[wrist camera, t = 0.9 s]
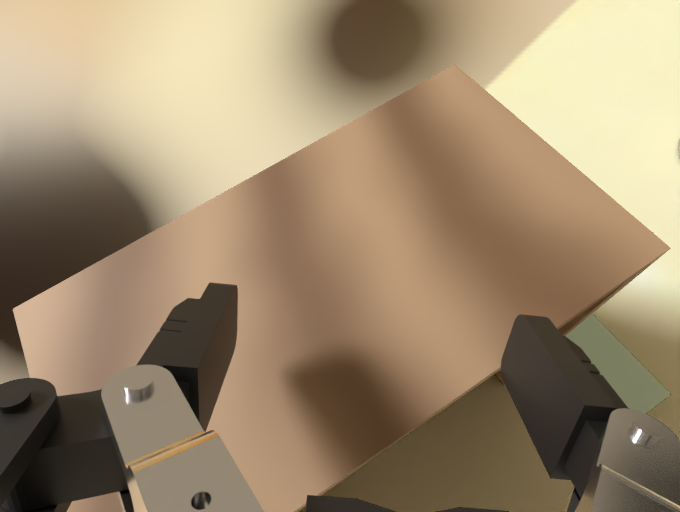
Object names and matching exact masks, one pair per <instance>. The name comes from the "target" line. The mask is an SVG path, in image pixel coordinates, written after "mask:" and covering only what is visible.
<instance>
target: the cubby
mask: <svg viewBox="0 0 680 512" xmlns="http://www.w3.org/2000/svg"><path fill="white" fill-rule="evenodd" d="M669 249H670V247H669V246H668V245H666V244H665V243H664V242H663V241H662V240H661V239H659V238H658V237H657V236H656V235H655V234H653V233H652V232H651V231H650V230H649V229H648V228H646V227H645V226H644V225H643V224H642V223H641V222H639V221H638V220H637V219H636V218H635V217H634V216H632V215H631V214H630V213H629V212H628V211H626V210H625V209H624V208H623V207H622V206H621V205H619V204H618V203H617V202H616V201H615V200H614V199H612V198H611V197H610V196H609V195H608V194H606V193H605V192H604V191H603V190H602V189H601V188H599V187H598V186H597V185H596V184H595V183H594V182H592V181H591V180H590V179H589V178H588V177H587V176H585V175H584V174H583V173H582V172H581V171H579V170H578V169H577V168H576V167H575V166H574V165H572V164H571V163H570V162H569V161H568V160H567V159H565V158H564V157H563V156H562V155H561V154H559V153H558V152H557V151H556V150H555V149H554V148H552V147H551V146H550V145H549V144H548V143H547V142H545V141H544V140H543V139H542V138H541V137H540V136H538V135H537V134H536V133H535V132H534V131H532V130H531V129H530V128H529V127H528V126H527V125H525V124H524V123H523V122H522V121H521V120H520V119H518V118H517V117H516V116H515V115H514V114H512V113H511V112H510V111H509V110H508V109H507V108H505V107H504V106H503V105H502V104H501V103H500V102H498V101H497V100H496V99H495V98H494V97H493V96H491V95H490V94H489V93H488V92H487V91H485V90H484V89H483V88H482V87H481V86H480V85H478V84H477V83H476V82H475V81H474V80H473V79H471V78H470V77H469V76H468V75H467V74H466V73H464V72H463V71H462V70H461V69H459V68H458V67H457V66H456V65H453V66H451V67H450V68H448V69H446V70H444V71H443V72H441V73H439V74H437V75H435V76H433V77H432V78H430V79H428V80H426V81H424V82H423V83H421V84H419V85H417V86H415V87H413V88H412V89H410V90H408V91H406V92H404V93H403V94H401V95H399V96H397V97H395V98H394V99H392V100H390V101H388V102H386V103H385V104H383V105H381V106H379V107H377V108H376V109H374V110H372V111H370V112H369V113H366V114H365V115H363V116H361V117H359V118H357V119H356V120H354V121H352V122H350V123H348V124H347V125H345V126H343V127H341V128H340V129H338V130H336V131H334V132H332V133H330V134H328V135H327V136H325V137H323V138H321V139H319V140H318V141H316V142H314V143H312V144H310V145H309V146H307V147H305V148H303V149H301V150H300V151H298V152H296V153H294V154H292V155H291V156H289V157H287V158H285V159H283V160H282V161H280V162H278V163H276V164H274V165H272V166H271V167H269V168H267V169H265V170H264V171H262V172H260V173H258V174H256V175H254V176H253V177H251V178H249V179H247V180H245V181H243V182H242V183H240V184H238V185H236V186H234V187H233V188H231V189H229V190H227V191H225V192H224V193H222V194H220V195H218V196H216V197H215V198H213V199H211V200H209V201H207V202H206V203H204V204H202V205H200V206H198V207H196V208H195V209H193V210H191V211H189V212H187V213H186V214H184V215H182V216H180V217H178V218H177V219H175V220H173V221H171V222H169V223H168V224H166V225H164V226H162V227H160V228H158V229H157V230H155V231H153V232H151V233H149V234H148V235H146V236H144V237H142V238H140V239H139V240H137V241H135V242H133V243H132V244H130V245H128V246H126V247H125V248H123V249H121V250H119V251H117V252H115V253H113V254H111V255H110V256H108V257H106V258H104V259H103V260H101V261H99V262H97V263H95V264H94V265H92V266H90V267H88V268H86V269H84V270H83V271H81V272H79V273H77V274H75V275H74V276H72V277H70V278H68V279H66V280H65V281H63V282H61V283H59V284H57V285H56V286H54V287H52V288H50V289H48V290H46V291H45V292H43V293H41V294H39V295H37V296H36V297H34V298H32V299H30V300H29V301H26V302H25V303H23V304H21V305H19V306H18V307H16V308H14V309H13V312H14V316H15V319H16V323H17V327H18V331H19V335H20V339H21V343H22V347H23V351H24V355H25V358H26V363H27V367H28V371H29V375H30V378H39V379H44V380H47V381H49V382H50V383H52V384H53V385H54V387H55V389H56V393H57V396H63V395H70V394H78V393H85V392H91V391H97V390H100V389H102V388H103V386H104V385H105V383H106V382H107V381H108V380H109V378H111V377H112V376H113V375H115V374H116V373H118V372H120V371H122V370H124V369H126V368H129V367H133V366H136V365H137V363H138V362H139V360H140V359H141V357H142V356H143V354H144V353H145V351H146V350H147V348H148V346H149V345H150V343H151V342H152V340H153V339H154V337H155V336H156V334H157V333H158V331H160V328H161V326H162V325H163V323H164V322H166V319H167V317H168V315H169V314H170V312H171V311H172V309H173V308H174V307H175V306H177V305H178V304H180V303H181V302H183V301H184V300H186V299H187V298H194V299H200V298H201V296H202V294H203V293H204V291H205V289H206V287H207V286H208V284H209V283H210V282H212V283H222V284H232V285H237V288H238V318H237V340H236V346H235V350H234V354H233V357H232V359H231V362H230V365H229V368H228V371H227V373H226V376H225V379H224V382H223V385H222V388H221V390H220V393H219V396H218V399H217V402H216V404H215V407H214V410H213V413H212V416H211V419H210V421H209V424H208V427H207V430H206V432H208V431H211V430H214V431H216V432H217V434H218V435H219V436H220V438H221V439H222V441H223V443H224V444H225V446H226V448H227V449H228V451H229V453H230V455H231V456H232V458H233V460H234V461H235V463H236V465H237V466H238V468H239V470H240V472H241V473H242V475H243V477H244V478H245V480H246V482H247V483H248V485H249V487H250V489H251V490H252V492H253V494H254V495H255V497H256V499H257V500H258V502H259V504H260V505H261V507H262V509H263V511H264V512H298V511H300V510H301V509H303V508H304V507H305V506H306V500H307V495H315V496H321V495H323V494H324V493H325V492H327V491H328V490H330V489H331V488H333V487H334V486H335V485H337V484H338V483H340V482H341V481H343V480H344V479H345V478H347V477H348V476H350V475H351V474H353V473H354V472H355V471H357V470H358V469H360V468H361V467H363V466H364V465H365V464H367V463H368V462H370V461H371V460H373V459H374V458H375V457H377V456H378V455H380V454H381V453H383V452H384V451H385V450H387V449H388V448H390V447H391V446H392V445H394V444H395V443H397V442H398V441H400V440H401V439H402V438H404V437H405V436H407V435H408V434H410V433H411V432H412V431H414V430H415V429H417V428H418V427H420V426H421V425H422V424H424V423H425V422H427V421H428V420H430V419H431V418H432V417H434V416H435V415H437V414H438V413H440V412H441V411H442V410H444V409H445V408H447V407H448V406H450V405H451V404H452V403H454V402H455V401H457V400H458V399H460V398H461V397H462V396H464V395H465V394H467V393H468V392H470V391H471V390H472V389H474V388H475V387H477V386H478V385H480V384H481V383H482V382H484V381H485V380H487V379H488V378H490V377H491V376H492V375H494V374H495V375H496V376H497V377H498V378H499V380H500V381H501V382H502V383H503V385H505V383H504V380H503V378H502V374H501V360H502V356H503V353H504V350H505V347H506V344H507V341H508V338H509V335H510V332H511V330H512V327H513V324H514V321H515V319H516V317H517V316H518V315H520V314H523V315H533V316H543V317H548V318H549V319H550V320H551V321H552V323H553V324H554V325H555V327H556V328H557V329H558V331H559V332H560V333H561V335H562V336H565V335H567V334H568V333H569V332H570V331H571V330H573V329H574V328H575V327H576V326H577V325H579V324H580V323H581V322H582V321H583V320H585V319H586V318H587V317H588V316H590V315H591V314H592V313H593V312H594V311H596V310H597V309H598V308H599V307H600V306H602V305H603V304H604V303H605V302H606V301H608V300H609V299H610V298H611V297H612V296H614V295H615V294H616V293H617V292H618V291H620V290H621V289H622V288H623V287H624V286H626V285H627V284H628V283H629V282H630V281H632V280H633V279H634V278H635V277H637V276H638V275H639V274H640V273H641V272H643V271H644V270H645V269H646V268H647V267H649V266H650V265H651V264H652V263H653V262H655V261H656V260H657V259H658V258H659V257H661V256H662V255H663V254H664V253H665V252H667V251H668V250H669ZM67 512H123V510H122V507H121V503H120V500H119V497H118V494H117V492H114V493H110V494H105V495H100V496H96V497H91V498H86V499H82V500H77V501H72V502H71V504H70V506H69V508H68V510H67Z"/></svg>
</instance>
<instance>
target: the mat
mask: <svg viewBox="0 0 680 512" xmlns="http://www.w3.org/2000/svg"><path fill="white" fill-rule="evenodd" d="M565 336H566V337H567V338H568V339H570V340H571V341H572V342H574V343H575V344H576V345H578V346H579V347H580V348H581V349H582V350H583V351H584V352H585V354H586V355H587V356H588V357H589V359H590V360H591V364H594V365H595V366H596V368H597V369H598V370H599V371H600V375H603V376H604V378H605V379H606V380H607V382H608V383H609V384H610V385H611V387H612V388H613V389H614V390H615V392H616V393H617V394H618V396H619V397H620V398H621V399H622V401H623V402H624V403H625V404H626V406H627V407H628V408H629V409H633V410H637V411H640V412H643V413H645V414H646V413H647V412H649V411H650V410H651V409H653V408H654V407H655V406H657V405H658V404H659V403H660V402H662V401H663V400H664V399H666V398H667V397H668V396H670V395H671V394H670V393H669V392H668V390H667V389H666V388H665V387H664V386H663V385H662V384H661V383H660V382H659V381H658V380H657V379H656V378H655V377H654V376H653V375H652V374H651V373H650V372H649V371H648V370H647V369H646V368H645V367H644V366H643V365H642V364H641V363H640V362H639V361H638V360H637V359H636V358H635V357H634V356H633V355H632V354H631V353H630V352H629V351H628V350H627V349H626V348H625V347H624V346H623V345H622V344H621V343H620V341H619V340H618V339H617V338H616V337H615V336H614V335H613V334H612V333H611V332H610V331H609V330H608V329H607V328H606V327H605V326H604V325H603V324H602V323H601V322H600V321H599V320H598V319H597V318H596V317H595V316H594V315H593V314H591V315H590V316H588V317H587V318H586V319H585V320H583V321H582V322H581V323H580V324H579V325H577V326H576V327H575V328H574V329H573V330H571V331H570V332H569V333H568V334H567V335H565Z"/></svg>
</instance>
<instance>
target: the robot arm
mask: <svg viewBox="0 0 680 512" xmlns="http://www.w3.org/2000/svg"><path fill="white" fill-rule="evenodd" d="M678 152H679V158H680V140H679V145H678ZM237 318H238V288H237V285H232V284H222V283H212V282H210V283H209V284H208V286H207V287H206V289H205V291H204V293H203V294H202V296H201V298H200V299H194V298H187V299H186V300H184V301H183V302H181V303H180V304H178V305H177V306H175V307H174V308H173V309H172V311H171V312H170V314H169V315H168V317H167V319H166V322H164V323H163V325H162V326H161V328H160V331H158V333H157V334H156V336H155V337H154V339H153V340H152V342H151V343H150V345H149V346H148V348H147V350H146V351H145V353H144V354H143V356H142V357H141V359H140V360H139V362H138V363H137V365H136V366H133V367H129V368H126V369H124V370H122V371H120V372H118V373H116V374H115V375H113V376H112V377H111V378H109V380H108V381H107V382H106V383H105V385H104V386H103V388H102V389H100V390H97V391H91V392H85V393H78V394H70V395H63V396H57V393H56V389H55V387H54V385H53V384H52V383H50V382H49V381H47V380H44V379H39V378H24V379H17V380H13V381H9V382H6V383H3V384H1V385H0V512H67V510H68V508H69V506H70V504H71V502H72V501H77V500H82V499H86V498H91V497H96V496H100V495H105V494H110V493H114V492H117V494H118V497H119V500H120V503H121V507H122V510H123V512H264V511H263V509H262V507H261V505H260V504H259V502H258V500H257V499H256V497H255V495H254V494H253V492H252V490H251V489H250V487H249V485H248V483H247V482H246V480H245V478H244V477H243V475H242V473H241V472H240V470H239V468H238V466H237V465H236V463H235V461H234V460H233V458H232V456H231V455H230V453H229V451H228V449H227V448H226V446H225V444H224V443H223V441H222V439H221V438H220V436H219V435H218V434H217V432H216V431H214V430H211V431H208V432H206V430H207V427H208V424H209V421H210V419H211V416H212V413H213V410H214V407H215V404H216V402H217V399H218V396H219V393H220V390H221V388H222V385H223V382H224V379H225V376H226V373H227V371H228V368H229V365H230V362H231V359H232V357H233V354H234V350H235V346H236V340H237ZM501 374H502V378H503V380H504V383H505V385H506V387H507V389H508V391H509V393H510V395H511V397H512V399H513V401H514V403H515V405H516V408H517V410H518V412H519V414H520V416H521V418H522V420H523V422H524V424H525V426H526V428H527V430H528V433H529V435H530V437H531V439H532V441H533V443H534V445H535V447H536V449H537V451H538V453H539V455H540V458H541V460H542V462H543V464H544V466H545V468H546V470H547V472H548V474H549V476H550V478H555V479H567V480H571V481H572V483H573V485H574V487H573V489H572V491H571V493H570V495H569V497H568V500H567V503H566V506H565V510H564V512H680V441H679V439H678V438H677V436H676V435H675V434H674V433H673V432H672V431H671V430H670V429H669V428H668V427H667V426H665V425H664V424H663V423H661V422H660V421H658V420H657V419H655V418H653V417H651V416H649V415H647V414H645V413H643V412H640V411H637V410H633V409H629V408H628V407H627V406H626V404H625V403H624V402H623V401H622V399H621V398H620V397H619V396H618V394H617V393H616V392H615V390H614V389H613V388H612V387H611V385H610V384H609V383H608V382H607V380H606V379H605V378H604V376H603V375H600V371H599V370H598V369H597V368H596V366H595V365H594V364H591V360H590V359H589V357H588V356H587V355H586V354H585V352H584V351H583V350H582V349H581V348H580V347H579V346H578V345H576V344H575V343H574V342H572V341H571V340H570V339H568V338H567V337H566V336H562V335H561V333H560V332H559V331H558V329H557V328H556V327H555V325H554V324H553V323H552V321H551V320H550V319H549V318H548V317H543V316H533V315H523V314H520V315H518V316H517V317H516V319H515V321H514V324H513V327H512V330H511V332H510V335H509V338H508V341H507V344H506V347H505V350H504V353H503V356H502V360H501ZM305 512H395V511H392V510H389V509H386V508H383V507H380V506H377V505H374V504H371V503H368V502H365V501H362V500H359V499H352V498H339V497H327V496H315V495H307V500H306V508H305ZM437 512H509V511H501V510H488V509H476V508H463V507H458V508H453V509H448V510H443V511H437Z"/></svg>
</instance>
